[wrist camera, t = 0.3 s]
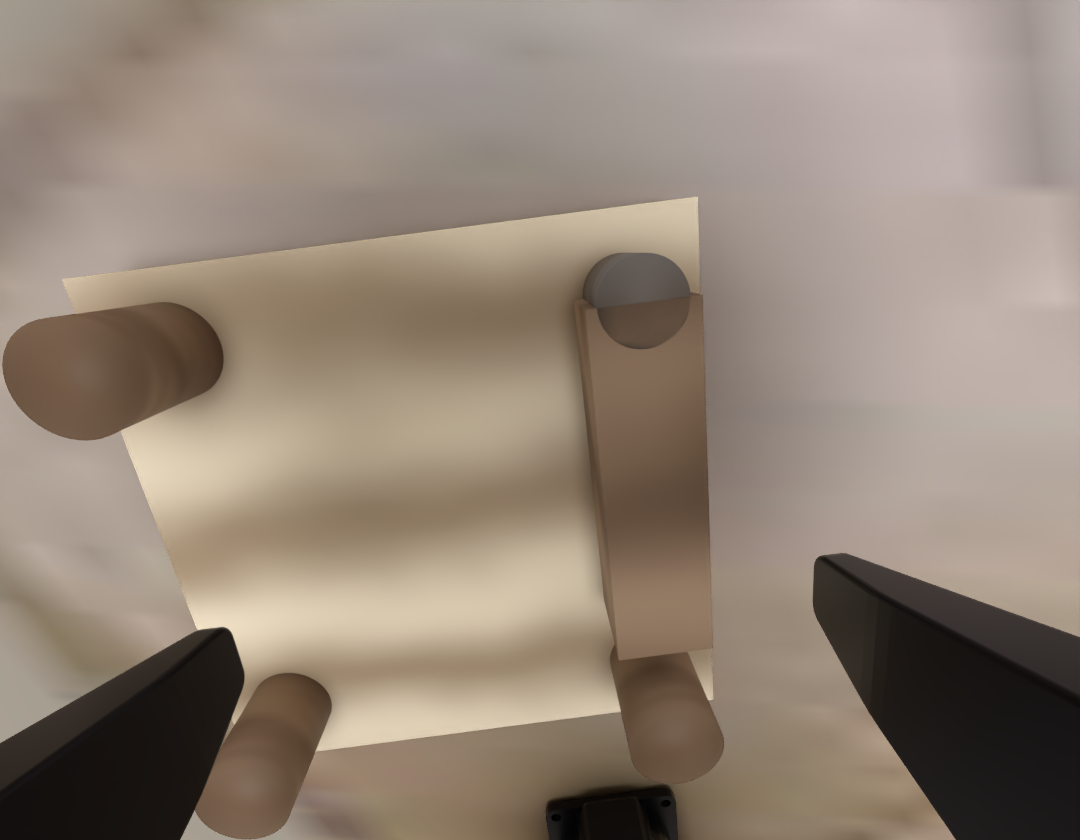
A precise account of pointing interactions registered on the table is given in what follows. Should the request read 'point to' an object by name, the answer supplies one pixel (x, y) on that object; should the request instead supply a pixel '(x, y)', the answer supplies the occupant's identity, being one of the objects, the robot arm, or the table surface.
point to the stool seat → (377, 486)
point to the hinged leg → (648, 451)
